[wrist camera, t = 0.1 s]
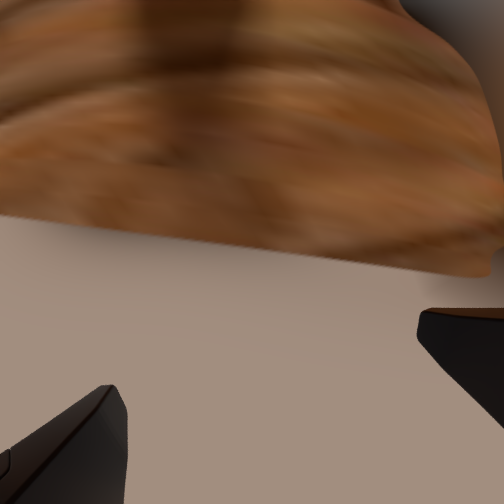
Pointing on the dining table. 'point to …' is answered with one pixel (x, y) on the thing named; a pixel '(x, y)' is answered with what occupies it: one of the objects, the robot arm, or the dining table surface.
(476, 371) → the robot arm
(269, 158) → the dining table surface
